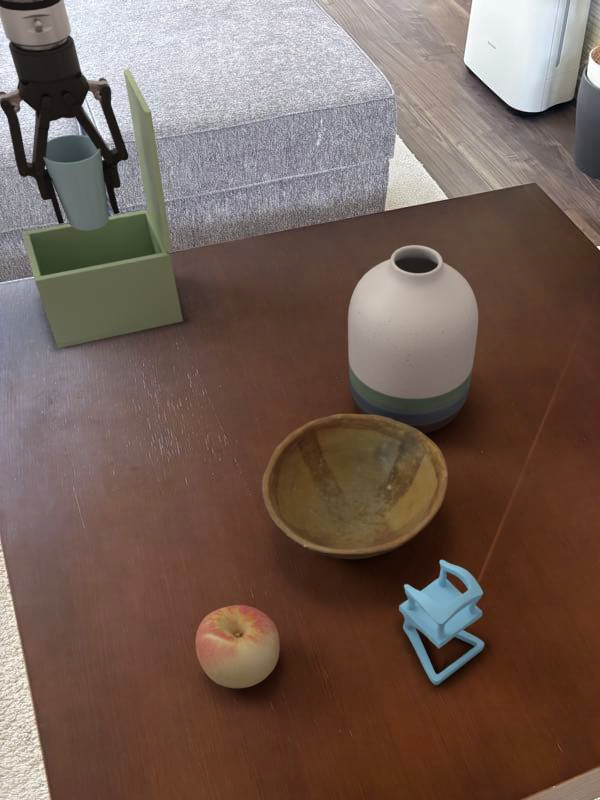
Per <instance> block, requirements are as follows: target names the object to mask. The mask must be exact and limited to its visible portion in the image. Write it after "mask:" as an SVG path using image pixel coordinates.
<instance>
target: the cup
mask: <svg viewBox="0 0 600 800" xmlns="http://www.w3.org/2000/svg"><path fill="white" fill-rule="evenodd" d="M43 158H44V161H45V169H47V170H48V173H49V175H50V177H51V180H52V183H53V187H54V190H55V193H56V196H57V198H58V199H59V202H60V204H61V206H62V209H63V211H64V214H65V216H66V219H67V220H68V224H70V225H71V226H72V227H74V228H76V229H78V230H95V229H98V228H101V227H103V226H104V225H105V224H107V222H108V220H109V216H110V213H109V204H108V195H107V189H106V185H105V180H104V172H103V164H102V160H103V157H102V156H101V151H100V149H98V150H97V148H96V147H95V145H94V144H93V142H92V141H91V139H90V138H89V136H88V135H83V134H66V135H60V136H57V137H54V138H52V139H49V140H47V151H46V157H43Z"/></svg>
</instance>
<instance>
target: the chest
mask: <svg viewBox="0 0 600 800" xmlns="http://www.w3.org/2000/svg"><path fill="white" fill-rule="evenodd" d="M21 235H22V238H23V242H24V246H25V250H26V253H27V257H28V261H29V264H30V268H31V272H32V276H33V279H34V281H35V285H36V288H37V291H38V294H39V297H40V300H41V303H42V305H43V309H44V312H45V314H46V318H47V321H48V324H49V326H50V329H51V332H52V335H53V338H54V340H55V344H56V347H57V349H62V348H65V347H69V346H75V345H80V344H85V343H89V342H94V341H98V340H102V339H107V338H113V337H116V336H121V335H126V334H130V333H134V332H135V333H136V332H140V331H144V330H149V329H153V328H158V327H163V326H168V325H172V324H176V323H181V322H184V318H183V314H182V309H181V304H180V299H179V294H178V289H177V283H176V278H175V273H174V268H173V263H172V258H171V254H170V252H167V251H166V249H165V247H164V245H163V242H162V240H161V238H160V236H159V233H158V231H157V229H156V226H155V224H154V222H153V220H152V217H151V215H150V213H149V211H148V209H143V210H137V211H132V212H127V213H121V214H114V215H111V216H110V215H109V220H108V222H107V224H105V225H104V226H103V227H101V228H98V229H95V230H78V229H76V228H74V227H72V226H71V225H70V223H64V224H58V225H54V226H49V227H43V228H37V229H32V230H27V231H22V232H21Z"/></svg>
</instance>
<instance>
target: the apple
mask: <svg viewBox="0 0 600 800" xmlns="http://www.w3.org/2000/svg"><path fill="white" fill-rule="evenodd" d="M195 635H196V636H195V652H196V657H197V659H198V662H199V664H200V666H201V668H202V670H203V671H204V672H205V674H206V675H207V677H208V678H209V679H210V680H211V681H213V682H214V683H215V684H217V685H220V686H222V687H225V688H230V689H245V688H250V687H253V686H255V685H257V684H259V683H261V682H263V681H264V680H265V679H266V678H267V677H268V676H270V674H271V673H272V672H273V671H274V669H275V667H276V666H277V664H278V661H279V657H280V649H281V647H280V646H281V645H280V635H279V631H278V628H277V626H276V624H275V623H274V621H273V620H272V618H270V616H269V615H267V614H266V613H265V612H263V611H261V610H259V609H258V608H256V607H253V606H251V605H250V606H249V605H244V604H234V605H229V606H224V607H221V608H218V609H215V610H213V611H211V612H210V613H208V614H207V615H206V616H205V617H204V618H203V619H202V620H201V622H200V624H199V626H198V628H197V630H196V634H195Z"/></svg>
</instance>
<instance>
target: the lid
mask: <svg viewBox="0 0 600 800" xmlns="http://www.w3.org/2000/svg"><path fill="white" fill-rule="evenodd" d="M123 75H124V82H125V87H126V93H127V99H128V104H129V110H130V116H131V117H130V118H131V122H132V128H133V134H134V140H135V145H136V146H135V147H136V152H137V157H138V165H139V170H140V175H141V181H142V186H143V194H144V199H145V205H146V208H147V210H148V211H149V213H150V215H151V217H152V220H153V222H154V224H155V226H156V229H157V231H158V233H159V236H160V238H161V240H162V242H163V245H164V247H165V249H166V251H167V252H169V253H170V252H173V247H172V241H171V234H170V228H169V227H170V226H169V220H168V215H167V208H166V201H165V195H164V187H163V182H162V173H161V168H160V167H161V166H160V161H159V155H158V154H159V153H158V148H157V141H156V135H155V134H156V133H155V128H154V122H153V115H152V111H151V109H150V106H149V105H148V103H147V101H146V99H145V97H144V95H143V93H142V91H141V89H140V87H139V85H138V83H137V81H136V79H135V78H134V75H133V73H132V72H131V69H130V68H126V69H123Z"/></svg>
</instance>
